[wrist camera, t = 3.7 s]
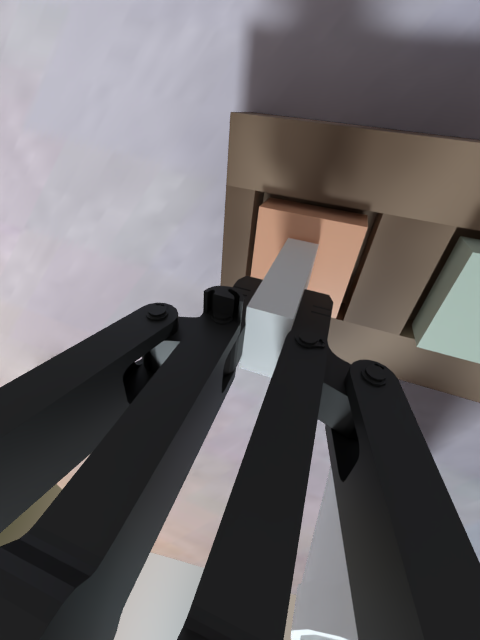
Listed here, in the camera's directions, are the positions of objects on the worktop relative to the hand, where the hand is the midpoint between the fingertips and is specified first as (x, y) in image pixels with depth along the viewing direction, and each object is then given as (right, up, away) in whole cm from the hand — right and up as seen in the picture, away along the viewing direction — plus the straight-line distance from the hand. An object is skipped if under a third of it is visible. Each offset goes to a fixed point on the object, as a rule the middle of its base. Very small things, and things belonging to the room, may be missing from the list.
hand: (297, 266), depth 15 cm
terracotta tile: (+1, +1, +2) cm, 2 cm away
